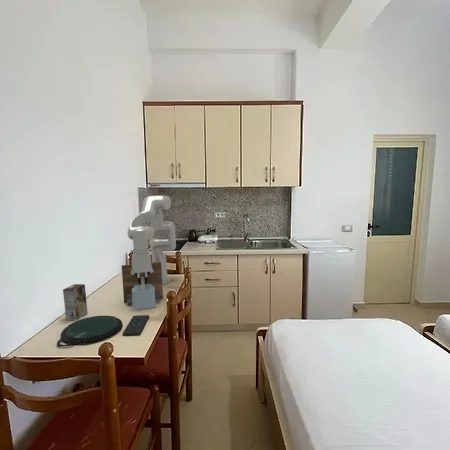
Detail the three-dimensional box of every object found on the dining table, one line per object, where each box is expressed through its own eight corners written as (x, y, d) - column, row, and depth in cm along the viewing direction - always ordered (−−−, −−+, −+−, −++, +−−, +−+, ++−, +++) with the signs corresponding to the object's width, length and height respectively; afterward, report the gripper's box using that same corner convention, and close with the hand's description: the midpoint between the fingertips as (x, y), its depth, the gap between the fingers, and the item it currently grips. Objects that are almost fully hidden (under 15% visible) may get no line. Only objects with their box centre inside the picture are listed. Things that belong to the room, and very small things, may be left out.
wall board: (124, 302, 180) (121, 265, 177) (162, 297, 186) (160, 261, 183) (123, 306, 173) (121, 268, 171) (163, 301, 179) (161, 264, 177)
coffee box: (77, 312, 167) (74, 283, 165) (87, 313, 165) (85, 284, 163) (65, 320, 158) (62, 289, 156) (76, 320, 156) (73, 289, 154)
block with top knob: (133, 302, 180) (131, 275, 178) (154, 300, 183) (152, 273, 181) (132, 310, 168) (131, 281, 166) (155, 307, 171) (154, 278, 169)
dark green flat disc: (134, 319, 150) (79, 348, 123) (134, 325, 150) (80, 355, 124) (96, 310, 162) (39, 335, 136) (96, 316, 162) (39, 342, 136)
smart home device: (149, 314, 158) (140, 332, 138) (149, 317, 159) (140, 336, 139) (133, 315, 158) (121, 333, 138) (133, 318, 158) (121, 337, 138)
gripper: (125, 253, 163) (127, 287, 165) (156, 251, 167) (158, 284, 169) (125, 251, 170) (127, 283, 172) (155, 248, 174) (157, 280, 176)
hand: (142, 283), depth 171 cm, fingers closed on block with top knob
